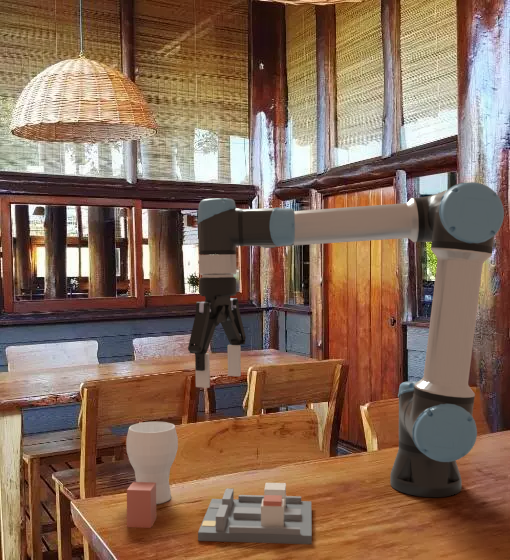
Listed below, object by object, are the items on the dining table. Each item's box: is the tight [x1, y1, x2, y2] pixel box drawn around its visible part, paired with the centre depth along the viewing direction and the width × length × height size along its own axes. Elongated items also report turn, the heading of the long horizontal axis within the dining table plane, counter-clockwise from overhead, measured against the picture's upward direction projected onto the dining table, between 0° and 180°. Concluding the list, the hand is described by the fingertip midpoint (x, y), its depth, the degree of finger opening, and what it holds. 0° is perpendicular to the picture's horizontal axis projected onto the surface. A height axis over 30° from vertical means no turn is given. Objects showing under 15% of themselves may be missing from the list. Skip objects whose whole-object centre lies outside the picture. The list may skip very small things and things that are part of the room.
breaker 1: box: [263, 482, 287, 508], centre depth 132 cm, size 4×4×4 cm
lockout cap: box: [126, 481, 157, 529], centre depth 128 cm, size 4×4×7 cm
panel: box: [197, 488, 313, 545], centre depth 127 cm, size 20×17×4 cm
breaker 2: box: [261, 494, 284, 527], centre depth 123 cm, size 4×4×5 cm
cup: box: [125, 421, 179, 505], centre depth 141 cm, size 11×11×15 cm
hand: (219, 381), depth 137 cm, fingers open, 13 cm apart
